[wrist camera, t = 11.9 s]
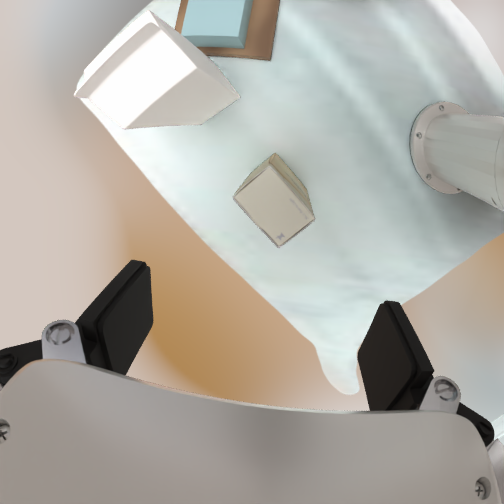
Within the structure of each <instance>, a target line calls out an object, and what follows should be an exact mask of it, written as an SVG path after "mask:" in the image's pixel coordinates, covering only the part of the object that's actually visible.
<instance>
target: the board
mask: <svg viewBox="0 0 504 504" xmlns="http://www.w3.org/2000/svg"><path fill="white" fill-rule="evenodd" d="M188 1H189V0H181V3H180V8H179V12H178V17H177V21H176V26H175V30H176V31H177V32H179V33H180V34H181V32H182V27H183V22H184V18H185V13H186V9H187V5H188ZM279 3H280V0H253V4H252V9H251V14H250V20H249V25H248V31H247V36H246V42H245V48H244V49H239V48H224V47H197V48H198V49H199V50H200V51H202V52H203V53H204V54H205V55H206V56H223V57H239V58H250V59H260V60H268V61H270V60H271V54H272V47H273V41H274V35H275V28H276V22H277V16H278V9H279Z"/></svg>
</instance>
